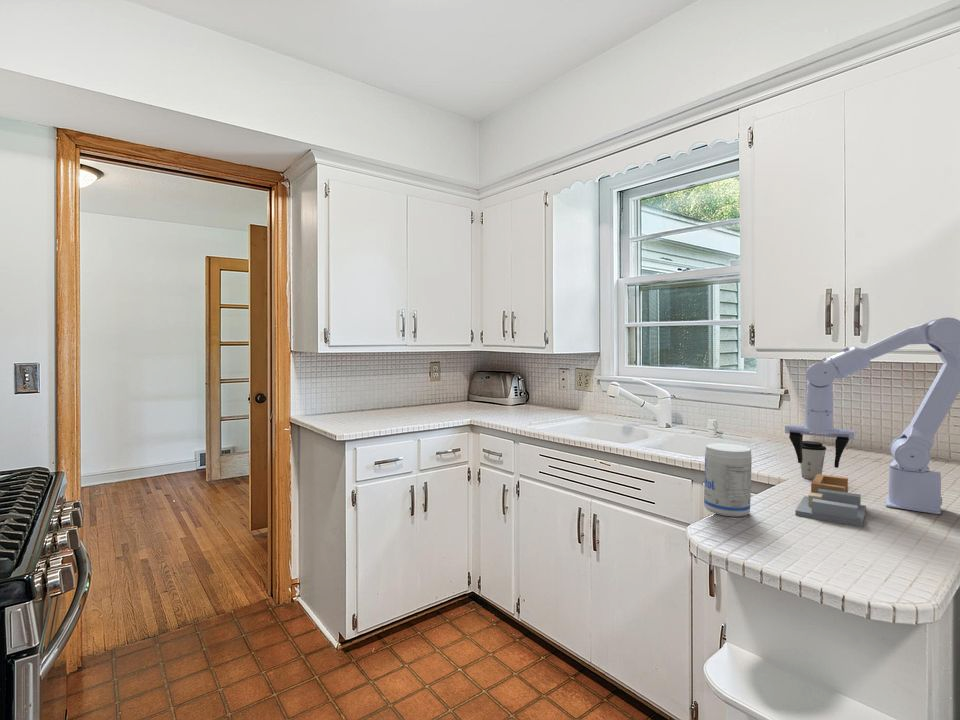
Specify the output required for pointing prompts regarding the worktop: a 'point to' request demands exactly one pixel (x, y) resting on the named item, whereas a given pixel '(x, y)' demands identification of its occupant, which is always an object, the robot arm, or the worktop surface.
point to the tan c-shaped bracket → (829, 483)
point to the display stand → (833, 507)
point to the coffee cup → (812, 459)
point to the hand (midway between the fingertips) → (818, 464)
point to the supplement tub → (727, 479)
